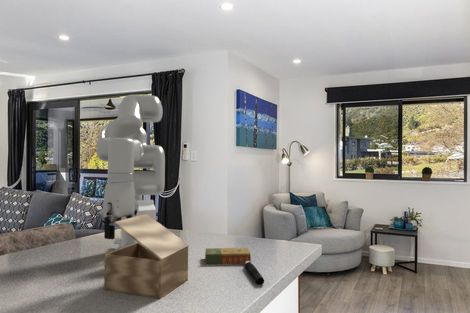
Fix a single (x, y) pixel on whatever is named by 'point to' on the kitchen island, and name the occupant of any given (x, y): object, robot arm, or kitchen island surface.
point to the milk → (146, 208)
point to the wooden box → (144, 271)
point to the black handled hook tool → (254, 273)
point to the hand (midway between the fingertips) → (120, 235)
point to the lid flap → (152, 236)
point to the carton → (227, 256)
